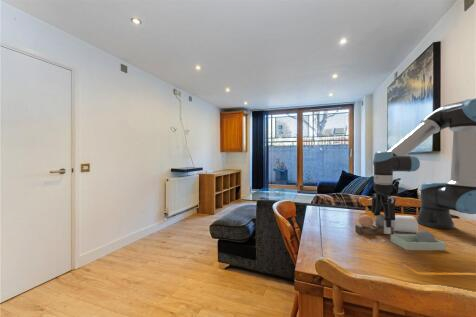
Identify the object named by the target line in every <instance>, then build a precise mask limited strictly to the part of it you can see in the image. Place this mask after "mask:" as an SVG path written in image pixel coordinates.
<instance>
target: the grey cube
mask: <svg viewBox="0 0 476 317" xmlns="http://www.w3.org/2000/svg"><path fill="white" fill-rule="evenodd" d="M384 219H385V215H384V214H381V215H378V216H377V217H376V218H375V217H374V223H375V222H376V224H377V225H378V226H379V227H382V228H384Z"/></svg>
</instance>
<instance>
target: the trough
mask: <svg viewBox="0 0 476 317" xmlns="http://www.w3.org/2000/svg"><path fill="white" fill-rule="evenodd" d="M390 242H391V243H393V244H394V245H397V246H398V247H400V248H402V249H403V250H405V251H446V242H444V241H441V240H440V239H437V238H435V242H418V241H417V240H416V234H397V233H396V234H390Z"/></svg>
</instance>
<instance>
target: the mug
mask: <svg viewBox="0 0 476 317" xmlns="http://www.w3.org/2000/svg"><path fill="white" fill-rule="evenodd" d="M391 227H394V232H397V233H398V232H401V233H402V232H403V233H412V234H413V233H416V234H417V233H418V229H419V223H417V218H416V217H415V216H413V215H398V214H397V215H396V214H395V220H392V221H391Z"/></svg>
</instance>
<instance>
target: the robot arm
mask: <svg viewBox="0 0 476 317" xmlns="http://www.w3.org/2000/svg"><path fill="white" fill-rule="evenodd" d="M446 128H449V130H450V131H451V132H453V133H452V135H453V136H452V148H451V150H452V151H451V166H450V179H449V180H448V181H447V182H428V183H427V182H424V183H422V184H421V185H420V186H421V187H420V210H419V212H418V214H417V216H416V220H417V223H418V225H422V226H425V227H430V228H434V229H440V230H441V229H442V230H443V229H444V230H452V229H455V223H454V221H453V218H452V215H451V211H455V212H458V213H460V214H468V215H476V98H471V99H469V98H468V99H466V100H462V101H461V100H460V101H459V102H454V103H450V104H445V105H443V106H441V107H439V108H437V109H435V110H434V111H433V112H431V113H429V114H428V115H426V117H424V119H422V120H421V121H420V122H419V125H418V126H416V127H415V128H414V129H413V130H412V131H410V133H408V134H407V135H406V136H405V137H403V138H402V139H401V140H399V141H398V142H397V143H396V144H395V145H394V146H392V147H391V148H390V149H389V150H387V151H376V152H375V153H374V156H373V159H372V160H373V161H372V165H373V183H374V184H373V191H374V192H375V193H371V213H372V214H373V216H374V219H375V218H376V217H377V216H378V215H382V214H381V212H382V209H383V215H385V219H384V234H383V235H391V221H392V220H395V215H396V208H395V207H396V205H395V204H396V198H393V197H392V196H391V193H392V192H393V189H394V188H393V182H394V181H393V180H394V177H393V176H394V175H393V174H394V173H393V172H408V173H409V172H415V171H416V172H417V171H418V170H419V169H420V167H421V165H420V164H421V162H420V159H419V158H418V157H416V156H414V155H409V154H410V153H411V152H413V150H415V149H416V148H417V147H418V146H419V145H421V144H423V142H424V141H426V140H427V139H428V138H429V137H431V136H432V135H434V134H437V133H439V132H440V131H442V130H444V129H446ZM374 226H378V225H377V224H376V222H375V221H374Z"/></svg>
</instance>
